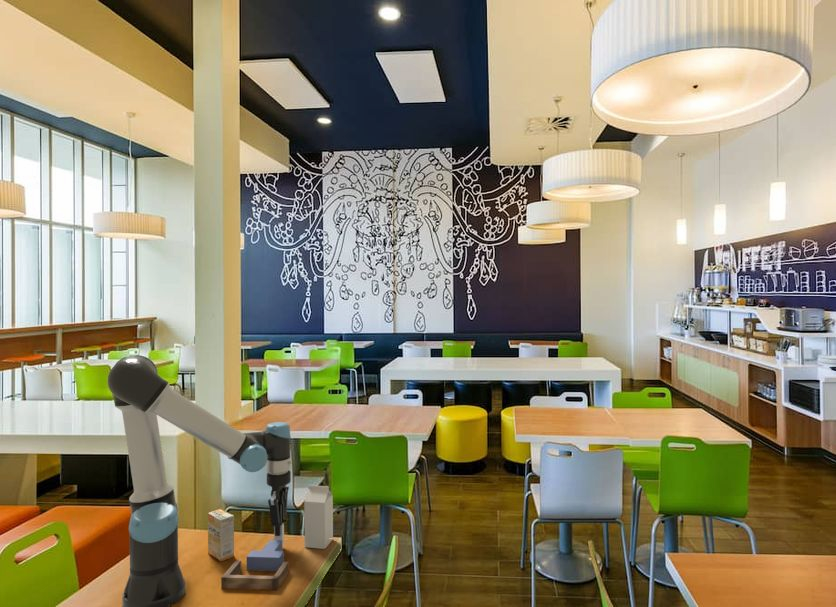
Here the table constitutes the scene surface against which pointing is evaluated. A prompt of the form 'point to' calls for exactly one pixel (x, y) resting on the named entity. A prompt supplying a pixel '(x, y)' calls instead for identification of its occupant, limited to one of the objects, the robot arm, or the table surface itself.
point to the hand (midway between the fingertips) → (279, 544)
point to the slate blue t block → (266, 557)
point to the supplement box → (221, 534)
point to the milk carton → (318, 517)
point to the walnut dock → (253, 578)
